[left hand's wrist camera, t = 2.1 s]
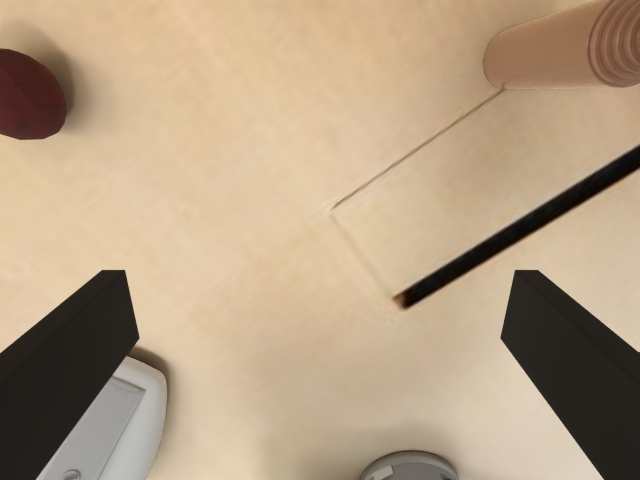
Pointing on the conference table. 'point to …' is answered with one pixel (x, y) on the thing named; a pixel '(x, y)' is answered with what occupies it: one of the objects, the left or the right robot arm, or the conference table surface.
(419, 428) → the conference table surface
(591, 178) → the conference table surface
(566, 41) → the bottle
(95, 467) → the projector
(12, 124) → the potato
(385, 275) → the conference table surface
